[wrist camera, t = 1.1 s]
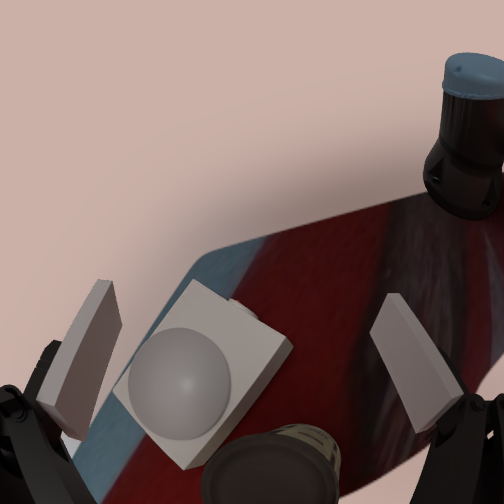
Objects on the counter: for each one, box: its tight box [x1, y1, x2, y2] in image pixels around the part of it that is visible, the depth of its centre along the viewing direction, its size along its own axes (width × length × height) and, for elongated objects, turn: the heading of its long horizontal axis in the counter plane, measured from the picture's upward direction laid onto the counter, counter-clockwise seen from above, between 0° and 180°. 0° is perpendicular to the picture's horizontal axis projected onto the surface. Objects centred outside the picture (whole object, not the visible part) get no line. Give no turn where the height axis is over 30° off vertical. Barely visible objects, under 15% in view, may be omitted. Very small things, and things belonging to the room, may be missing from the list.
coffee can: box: [201, 424, 341, 504], centre depth 20 cm, size 10×10×14 cm
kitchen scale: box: [112, 279, 294, 470], centre depth 32 cm, size 15×21×6 cm
